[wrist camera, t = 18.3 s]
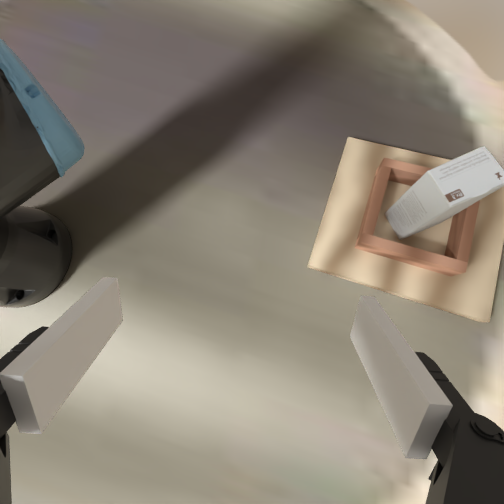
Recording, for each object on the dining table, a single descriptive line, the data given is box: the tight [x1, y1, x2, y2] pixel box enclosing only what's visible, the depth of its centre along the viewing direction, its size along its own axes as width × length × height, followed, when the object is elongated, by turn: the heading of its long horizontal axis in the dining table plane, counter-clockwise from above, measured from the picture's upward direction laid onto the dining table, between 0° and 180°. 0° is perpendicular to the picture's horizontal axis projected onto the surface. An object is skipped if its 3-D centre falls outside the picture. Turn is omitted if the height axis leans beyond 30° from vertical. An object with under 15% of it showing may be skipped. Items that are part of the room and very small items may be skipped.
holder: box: [307, 137, 504, 322], centre depth 36 cm, size 22×20×4 cm
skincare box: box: [385, 146, 504, 240], centre depth 31 cm, size 6×4×12 cm
